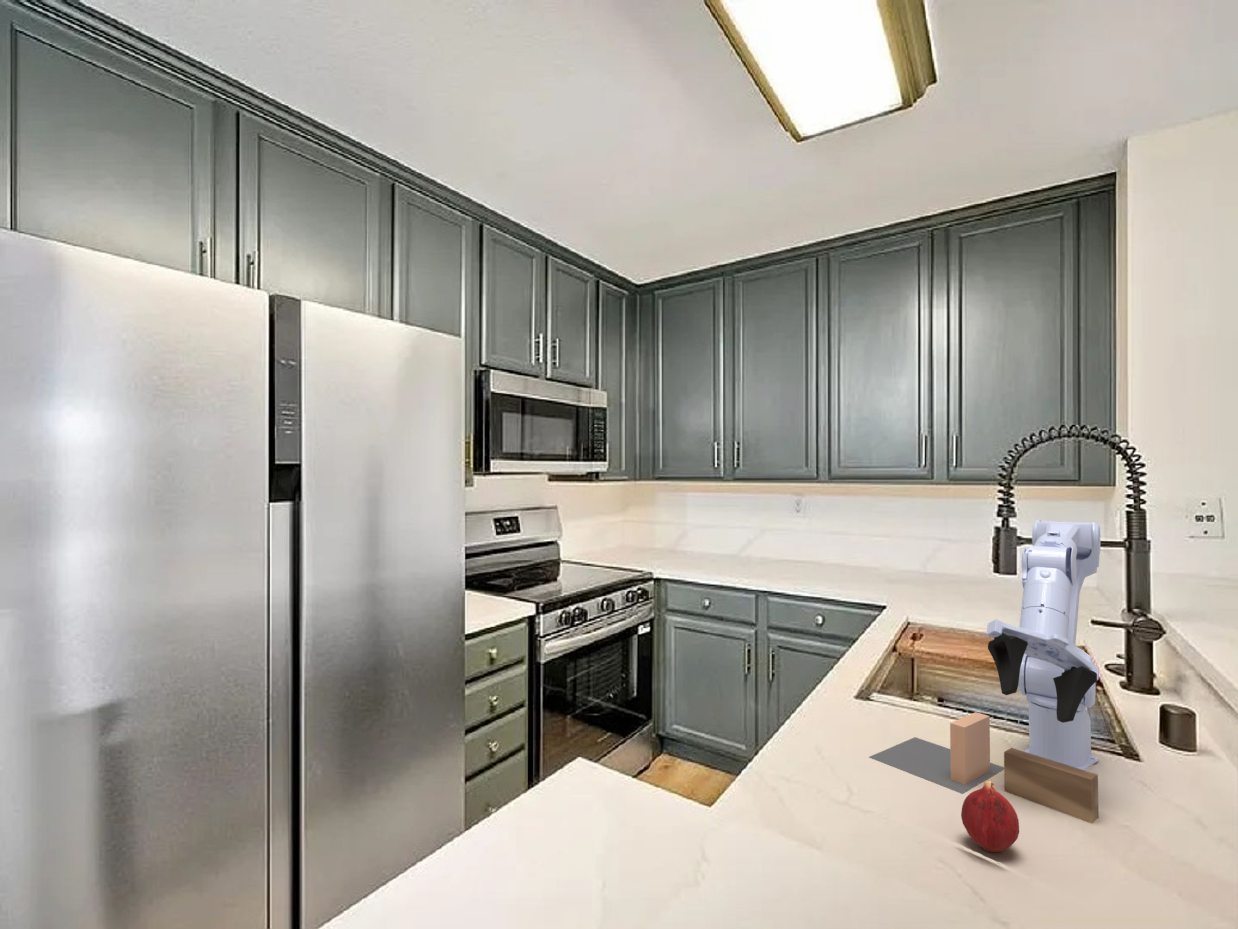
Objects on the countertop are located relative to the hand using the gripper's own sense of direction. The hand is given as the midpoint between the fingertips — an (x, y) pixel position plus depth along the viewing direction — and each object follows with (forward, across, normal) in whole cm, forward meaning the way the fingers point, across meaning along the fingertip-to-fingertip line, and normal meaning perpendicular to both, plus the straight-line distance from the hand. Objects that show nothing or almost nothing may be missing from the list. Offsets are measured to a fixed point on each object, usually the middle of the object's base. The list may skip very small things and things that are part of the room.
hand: (1036, 706), depth 81 cm
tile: (+7, +1, +15) cm, 16 cm away
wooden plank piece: (+9, +8, +7) cm, 14 cm away
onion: (+20, -4, 0) cm, 21 cm away
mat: (+7, -2, +19) cm, 20 cm away
